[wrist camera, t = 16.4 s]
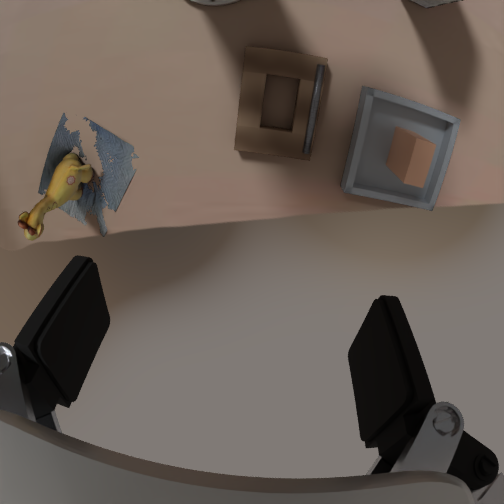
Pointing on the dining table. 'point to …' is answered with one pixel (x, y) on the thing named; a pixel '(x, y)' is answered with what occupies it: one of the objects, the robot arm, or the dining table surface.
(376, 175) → the tray
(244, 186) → the dining table surface
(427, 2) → the candy bar box
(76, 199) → the stuffed giraffe
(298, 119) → the brown piece
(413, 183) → the tan rectangular block
